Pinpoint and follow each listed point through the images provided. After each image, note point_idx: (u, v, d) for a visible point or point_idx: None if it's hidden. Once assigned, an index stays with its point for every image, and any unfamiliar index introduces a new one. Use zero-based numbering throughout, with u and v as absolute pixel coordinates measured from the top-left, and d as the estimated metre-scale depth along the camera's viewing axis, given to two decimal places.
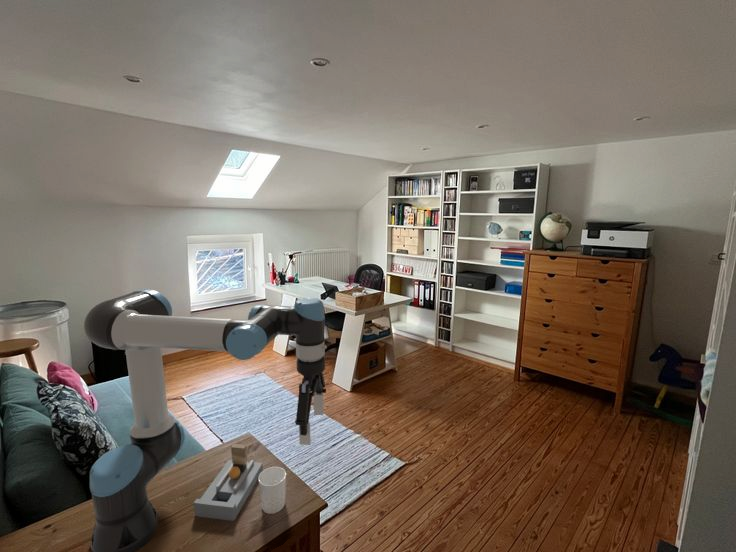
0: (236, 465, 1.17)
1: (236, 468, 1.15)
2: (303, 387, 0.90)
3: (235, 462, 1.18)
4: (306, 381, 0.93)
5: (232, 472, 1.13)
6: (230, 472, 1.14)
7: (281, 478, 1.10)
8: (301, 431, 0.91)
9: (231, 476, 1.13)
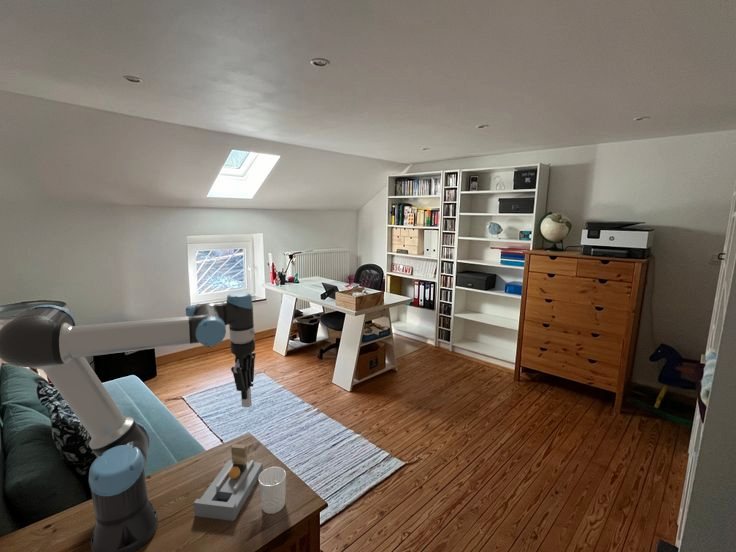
0: (236, 465, 1.17)
1: (236, 468, 1.15)
2: (235, 370, 1.13)
3: (235, 462, 1.18)
4: (237, 362, 1.14)
5: (232, 472, 1.13)
6: (230, 472, 1.14)
7: (281, 478, 1.10)
8: (242, 396, 1.19)
9: (231, 476, 1.13)
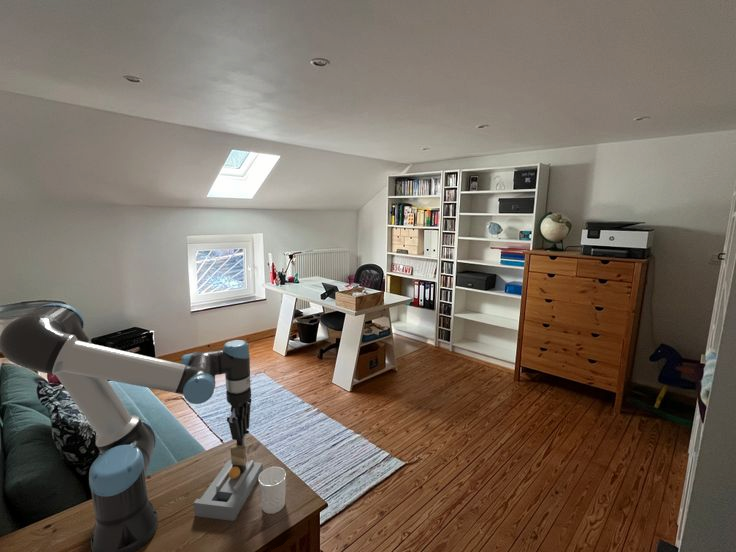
0: (235, 466, 1.17)
1: (236, 468, 1.15)
2: (230, 421, 1.12)
3: (234, 463, 1.17)
4: (233, 412, 1.13)
5: (232, 472, 1.13)
6: (230, 472, 1.14)
7: (281, 478, 1.10)
8: (237, 444, 1.18)
9: (231, 476, 1.13)
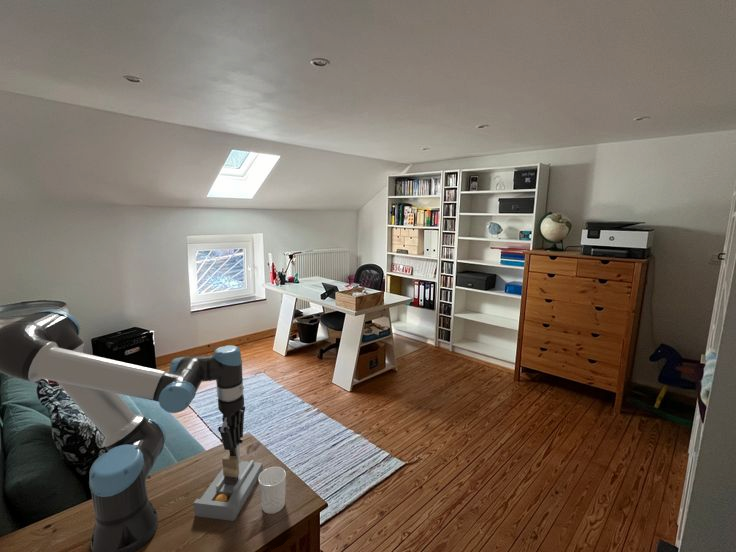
0: (227, 478, 1.12)
1: None
2: (222, 431, 1.06)
3: (226, 474, 1.12)
4: (224, 421, 1.08)
5: (221, 494, 1.07)
6: (219, 495, 1.07)
7: (281, 478, 1.10)
8: (230, 454, 1.13)
9: (219, 498, 1.06)
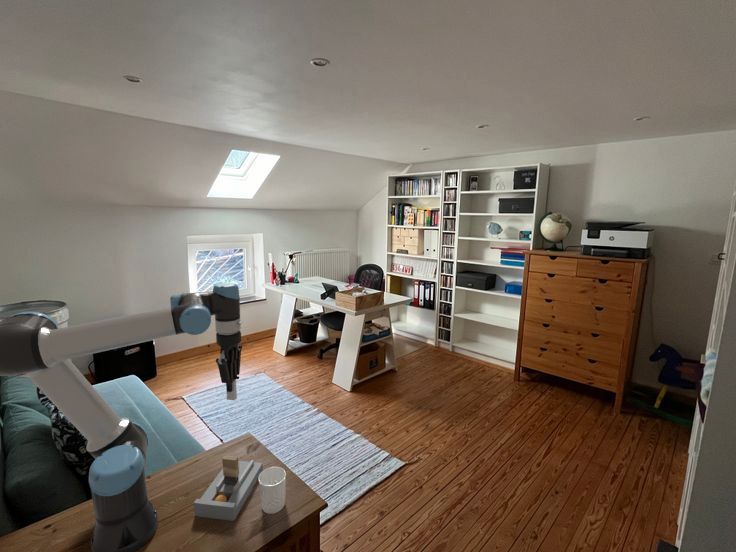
0: (227, 478, 1.12)
1: (224, 496, 1.08)
2: (219, 362, 1.11)
3: (226, 474, 1.12)
4: (222, 353, 1.12)
5: (220, 495, 1.07)
6: (218, 496, 1.07)
7: (281, 478, 1.10)
8: (227, 388, 1.17)
9: (218, 500, 1.06)
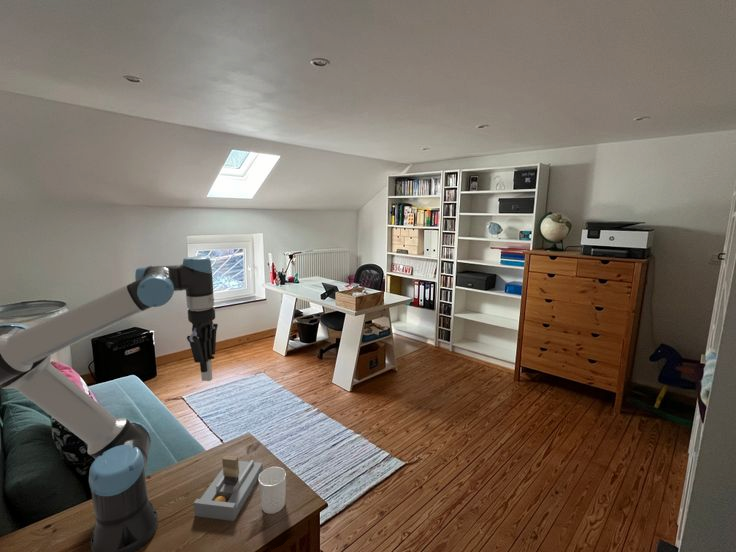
0: (227, 478, 1.12)
1: (223, 497, 1.07)
2: (191, 339, 1.05)
3: (226, 474, 1.12)
4: (194, 331, 1.06)
5: (218, 498, 1.06)
6: (216, 499, 1.06)
7: (281, 478, 1.10)
8: (201, 368, 1.11)
9: None
